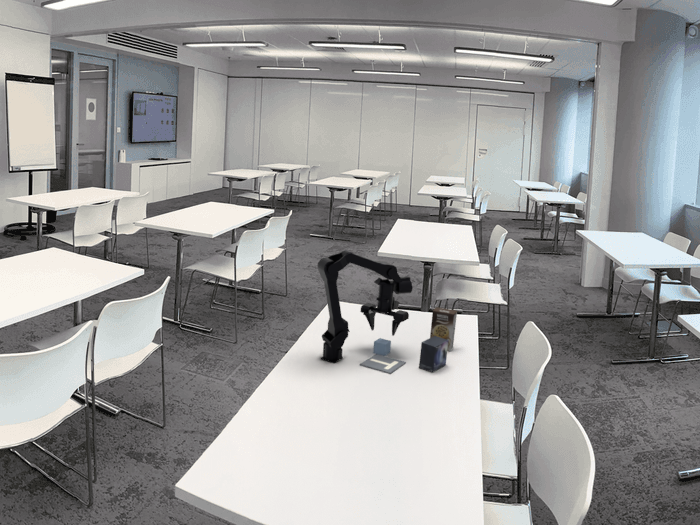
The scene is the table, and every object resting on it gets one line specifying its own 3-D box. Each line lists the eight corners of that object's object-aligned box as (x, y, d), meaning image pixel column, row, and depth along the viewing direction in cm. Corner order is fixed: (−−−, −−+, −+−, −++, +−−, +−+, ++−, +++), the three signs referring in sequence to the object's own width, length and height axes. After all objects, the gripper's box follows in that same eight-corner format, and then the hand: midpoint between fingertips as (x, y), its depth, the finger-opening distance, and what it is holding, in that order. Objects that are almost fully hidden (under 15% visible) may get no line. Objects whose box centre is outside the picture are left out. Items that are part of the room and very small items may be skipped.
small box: (433, 373, 215) (435, 346, 213) (418, 368, 219) (420, 341, 216) (446, 365, 223) (449, 339, 221) (432, 360, 227) (434, 335, 225)
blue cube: (373, 353, 231) (373, 341, 230) (379, 349, 235) (380, 338, 234) (384, 356, 228) (385, 344, 227) (390, 352, 233) (391, 340, 232)
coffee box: (428, 347, 240) (431, 310, 237) (432, 342, 246) (435, 306, 242) (450, 352, 237) (454, 314, 233) (453, 347, 243) (457, 310, 239)
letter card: (359, 365, 218) (359, 363, 218) (376, 354, 229) (376, 353, 229) (390, 374, 212) (390, 372, 212) (406, 363, 223) (406, 361, 223)
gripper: (416, 295, 229) (413, 332, 232) (374, 286, 238) (372, 322, 241) (403, 301, 219) (400, 340, 223) (361, 291, 228) (358, 329, 232)
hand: (382, 332), depth 230 cm, fingers open, 9 cm apart
